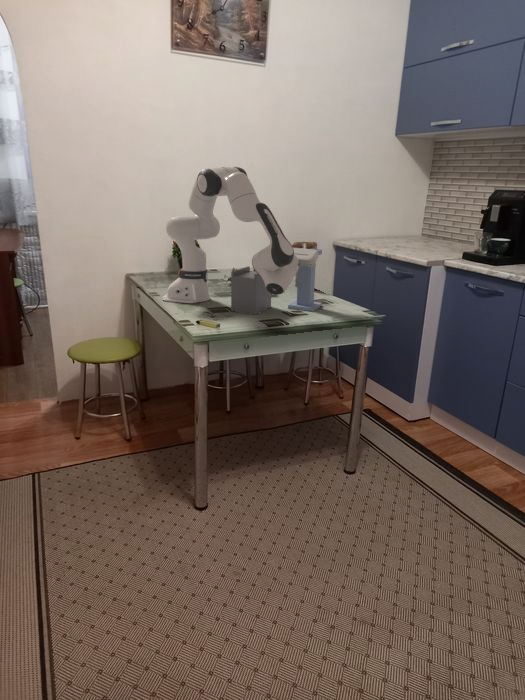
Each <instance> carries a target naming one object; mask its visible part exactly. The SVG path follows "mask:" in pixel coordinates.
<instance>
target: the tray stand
mask: <svg viewBox="0 0 525 700" xmlns="http://www.w3.org/2000/svg"><path fill="white" fill-rule="evenodd" d="M230 273H231V275H230V277H231V282H230V283H231V285H230V286H231V287H230V291H231V292H230V299H231V301H230V304H231V305H230V306H231V307H230V309H231V312H233V311H237V312H236V313H241V312H244V313H243V314H248V313H251V314H250V315H255V314H256V315H257V313H258V314H260V313H261V312H264V311H265V309H266V310H268V309H269V308H271V307H272V294H271V293H269V292H268V291H267V290H266V287H265V283H264V280H263V279H262V277H261V276H260V275H258V274H257V273H256V272H255V271H254V270H251V268H250V266H249V265H248V266H245V267H241V268H238V269H237V270H236V269H235V271H231V272H230ZM267 308H268V309H267ZM263 310H264V311H263ZM259 312H260V313H259Z"/></svg>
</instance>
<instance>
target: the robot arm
mask: <svg viewBox="0 0 525 700" xmlns="http://www.w3.org/2000/svg"><path fill="white" fill-rule="evenodd" d="M224 196H226V197H227V199H228V202H229V205H230V208H231V210H232V213H233V215H234V217H235V218H236V219H237V220H238V221H241V222H243V223H252V222H258V223H260V224H261V226H262V227H263V229H264V232H265V233H266V235H267V237H268V239H269V242H270V243H269V245H267V246H266V247H265V248H263V249H261V250H259V251H258V252H256V253H255V254H254V255H253V256H252V258H251V265H252V269H253V271H254V270H255V272H256V273H257V274H258V275H260V276H261V277H262V279H263V280H264V283H265V287H266V290H267V291H268V292H269V293H271V295H275V296H277V295H282V294H284V293H285V292H286V291H287V290H288V288H289V287H290V285H291V283H292V282H293V278H294V277H296V272H297V271H298V269H299V267H300V266H306V267H310V266H313V265H314V264H315V262H317V261H318V259H319V258H320V257H319V256H320V255H318V251H317V250H315V249H306V243H302V245H301V246H302V248H294V243H295V242H296V241H295V242H292V243H291V242H290V241H289V240H288V239H287V237H286V236H285V233H284V231H283V230H282V229H281V227H280V224H279V223H278V221H277V220H276V217H275V216H274V214H273V212H272V211H271V209H270V208H269V206H268V205H267V204H265V203H263V202H261V201H260V199H259V197H258V196H257V192H256V190H255V188H254V186H253V184H252V182H251V180H250V179H249V177H248V173H247V172H246V170H245V169H244V168H242V167H239V166H220V167H214V168H210V167H206V168H203V169H202V170H200V172H199V173H198V175H197V177H196V179H195V181H194V183H193V186H192V189H191V193H190V196H189V199H188V208H189V209H190V211H191V212H193V214H192V215H177V216H172V217H169V219H168V220H167V223H166V227H165V230H166V233H167V236H168V237H169V238H170V239H171V240H172V241H174V242H175V243H176V244H177V246H178V248H179V249H180V253H181V262H182V268H180V269H179V271H178V274H177V275H178V278H176V279H175V280H173V282H172V283H170V284H169V285H168V288H167V291H166V294H165V295H163V296H162V301H163V300H164V301H163V302H171V303H183V304H185V303H186V304H195V303H202V302H207V301H209V300H211V296H210V294H209V288H208V277H209V276H208V269H207V254H206V252H205V251H204V250H203V249H202V248H200V247H199V246H197V245H196V241H197V240H200V241H201V240H209V239H213V238H216V237H217V236H218V234H220V230H221V225H220V221H219V219H218V218H217V217H216V216H215V215H214V210H215V209H214V207H215V205H216V202H217V199H218V197H224Z"/></svg>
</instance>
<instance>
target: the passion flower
mask: <svg viewBox="0 0 525 700" xmlns="http://www.w3.org/2000/svg"><path fill="white" fill-rule="evenodd" d="M235 270H238V269H237V268H235V267H232V271H235ZM232 271H231V272H232ZM224 277H225V278H227V280H226V282H225V283H228V282H230V283H229V286H231V276H227V275H226V274H224Z"/></svg>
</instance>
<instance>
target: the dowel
mask: <svg viewBox="0 0 525 700" xmlns="http://www.w3.org/2000/svg"><path fill="white" fill-rule="evenodd" d="M302 243H306V249H310V248H313V247H317V248H318V243H317V242H316V241H295V243H294V248H302V246H301V245H302Z"/></svg>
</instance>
